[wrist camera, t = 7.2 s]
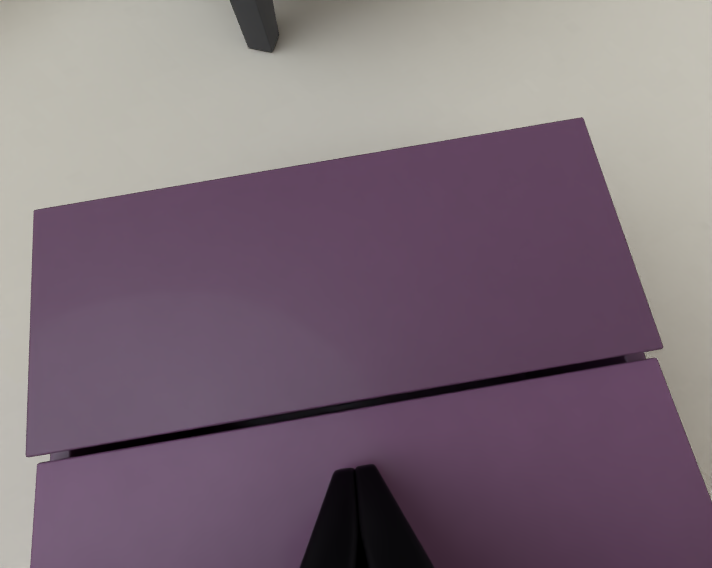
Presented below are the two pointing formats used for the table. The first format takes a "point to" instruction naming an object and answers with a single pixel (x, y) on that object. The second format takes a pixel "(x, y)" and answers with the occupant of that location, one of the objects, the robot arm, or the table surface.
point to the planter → (257, 23)
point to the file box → (327, 289)
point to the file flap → (405, 483)
